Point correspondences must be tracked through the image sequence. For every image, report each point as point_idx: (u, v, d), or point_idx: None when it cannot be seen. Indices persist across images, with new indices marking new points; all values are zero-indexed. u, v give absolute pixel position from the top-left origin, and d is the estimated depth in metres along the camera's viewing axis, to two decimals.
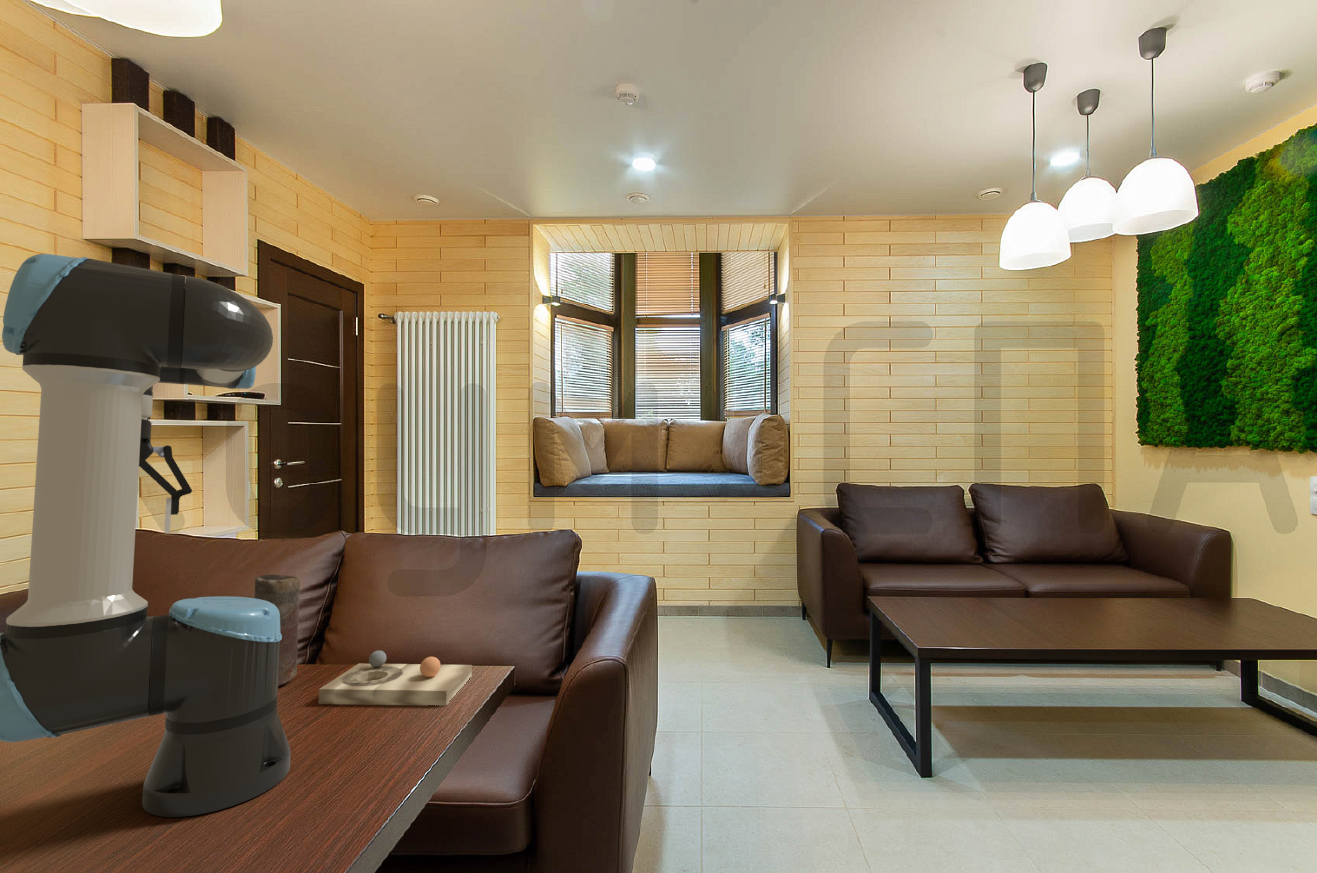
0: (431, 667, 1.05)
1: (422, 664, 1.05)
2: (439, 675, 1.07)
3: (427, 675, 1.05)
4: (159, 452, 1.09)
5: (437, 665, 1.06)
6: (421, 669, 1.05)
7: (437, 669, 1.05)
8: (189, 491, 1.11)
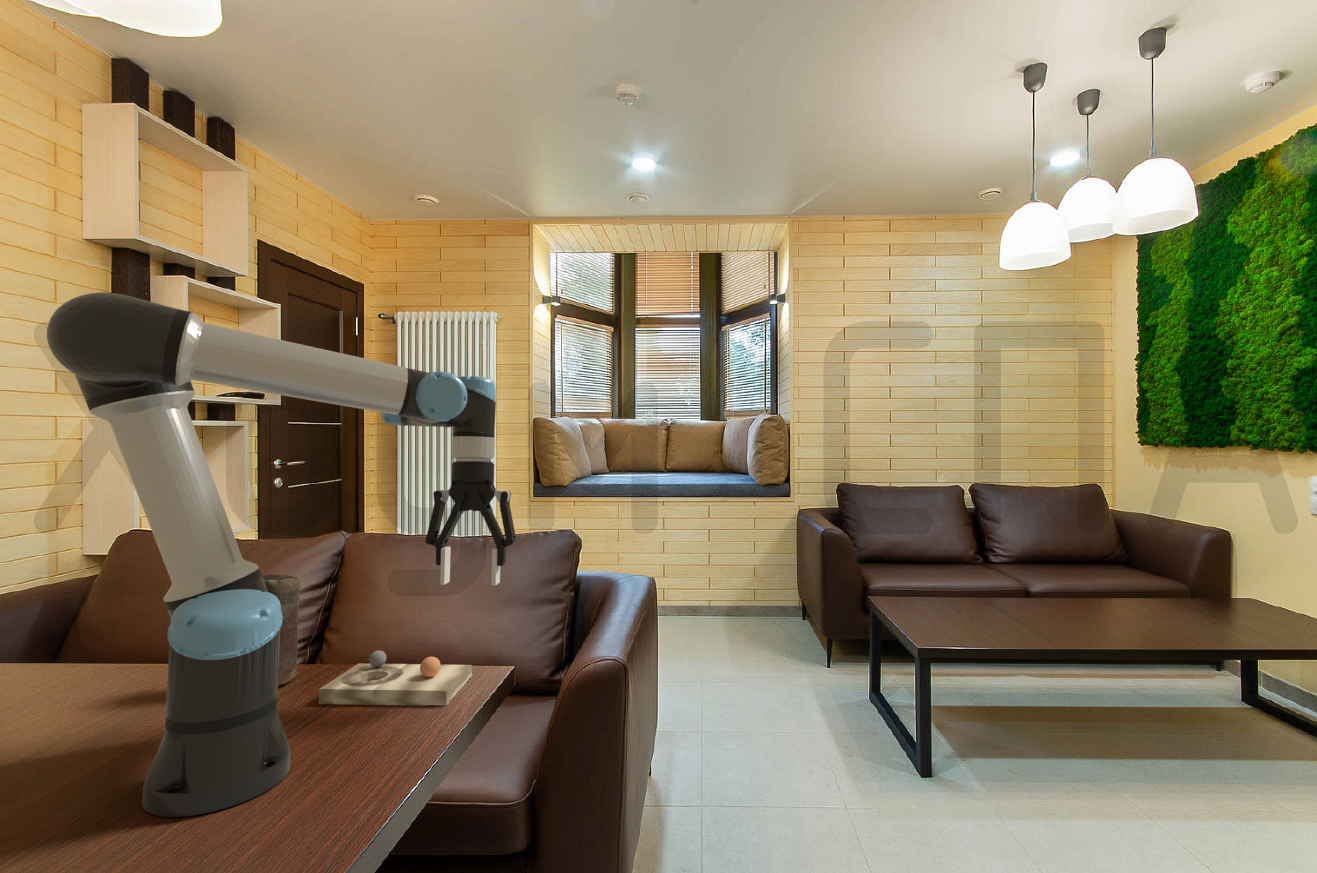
0: (431, 667, 1.05)
1: (422, 664, 1.05)
2: (439, 675, 1.07)
3: (427, 675, 1.05)
4: (498, 496, 1.07)
5: (437, 665, 1.06)
6: (421, 669, 1.05)
7: (437, 669, 1.05)
8: (510, 542, 1.06)
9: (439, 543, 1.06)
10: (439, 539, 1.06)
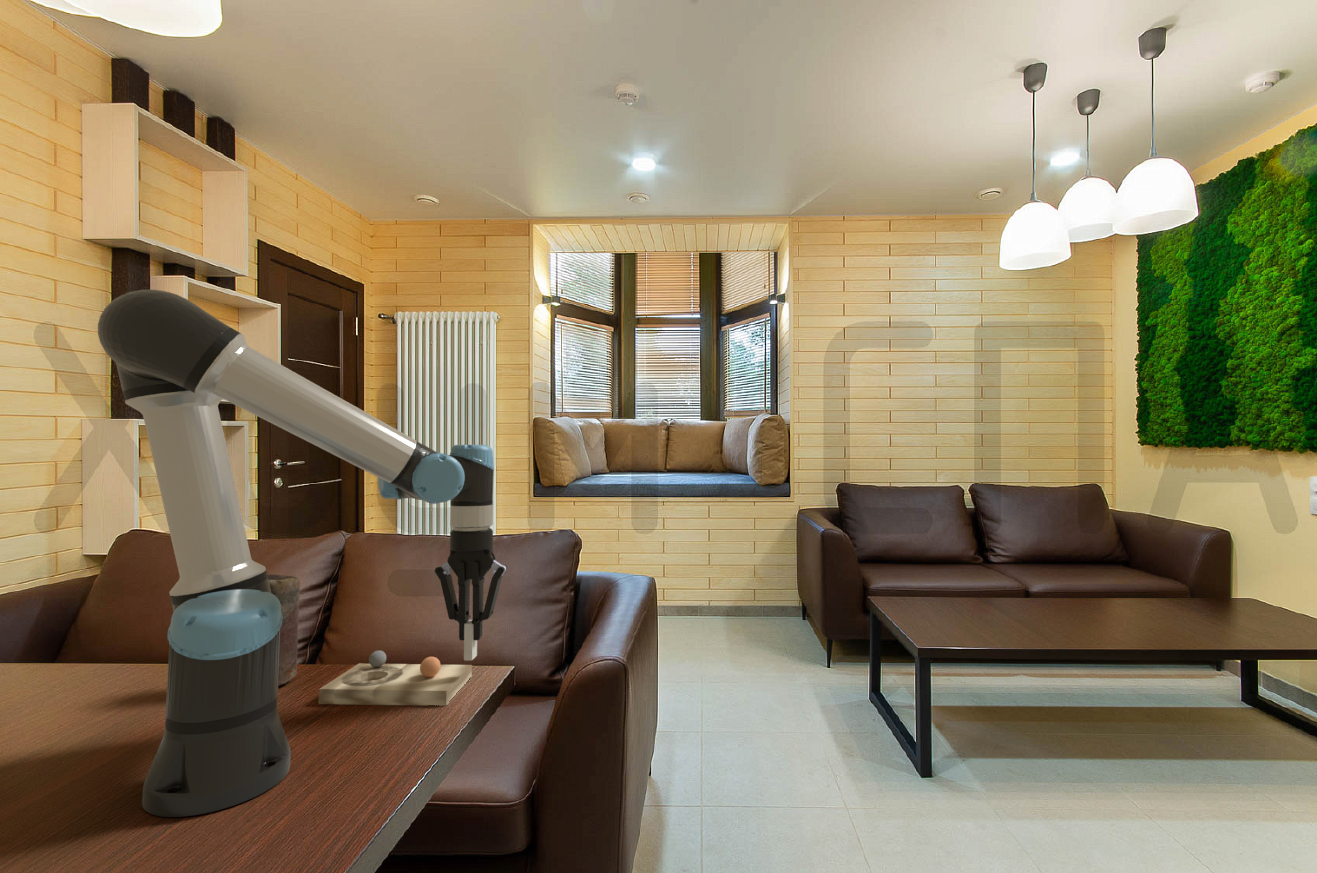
0: (431, 667, 1.05)
1: (422, 664, 1.05)
2: (439, 675, 1.07)
3: (427, 675, 1.05)
4: (494, 569, 1.07)
5: (437, 665, 1.06)
6: (421, 669, 1.05)
7: (437, 669, 1.05)
8: (486, 617, 1.05)
9: (461, 618, 1.05)
10: (460, 614, 1.05)
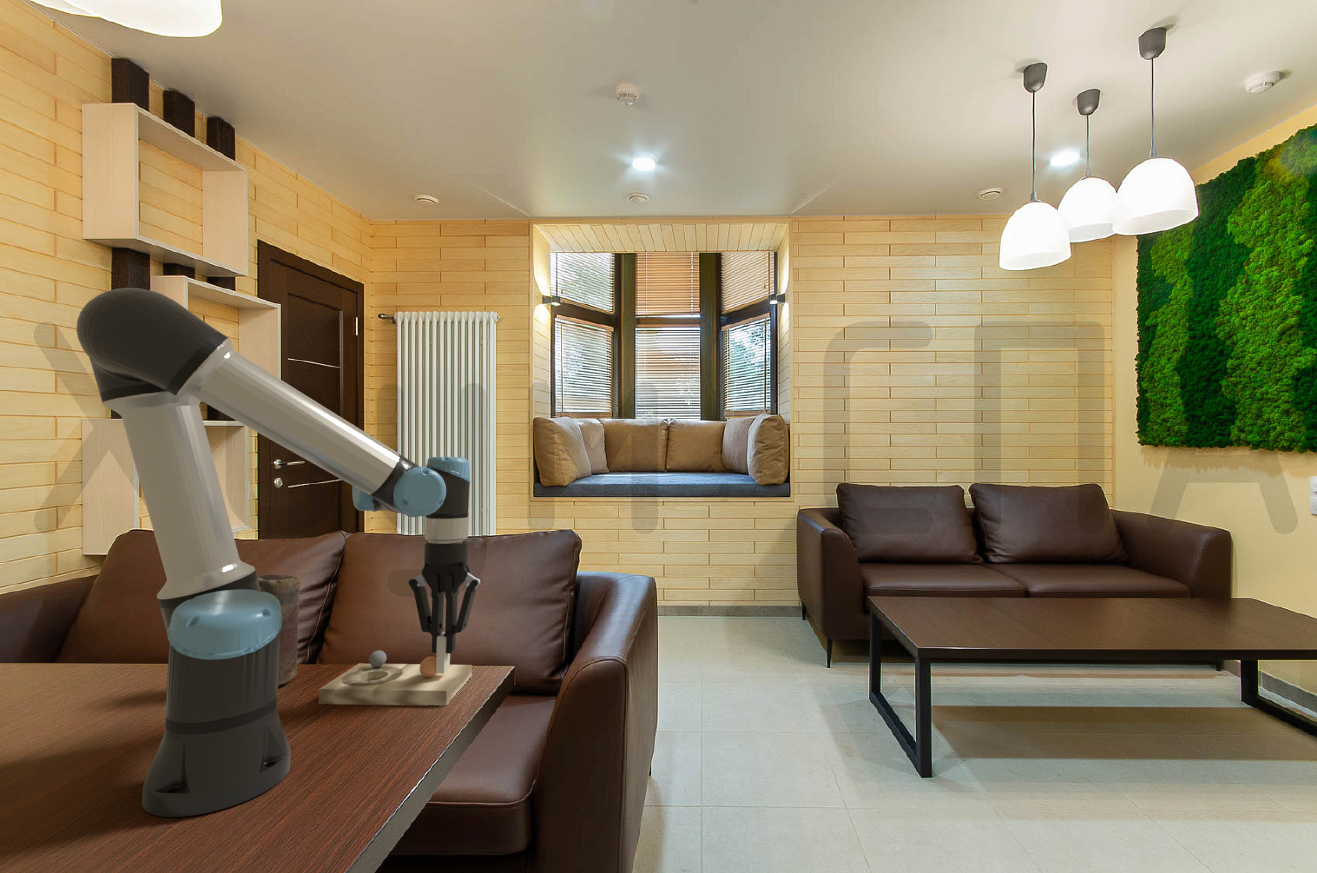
0: (430, 667, 1.05)
1: (421, 664, 1.05)
2: (439, 675, 1.07)
3: (427, 675, 1.05)
4: (468, 581, 1.06)
5: None
6: (421, 669, 1.05)
7: None
8: (458, 630, 1.05)
9: (434, 631, 1.05)
10: (433, 627, 1.05)
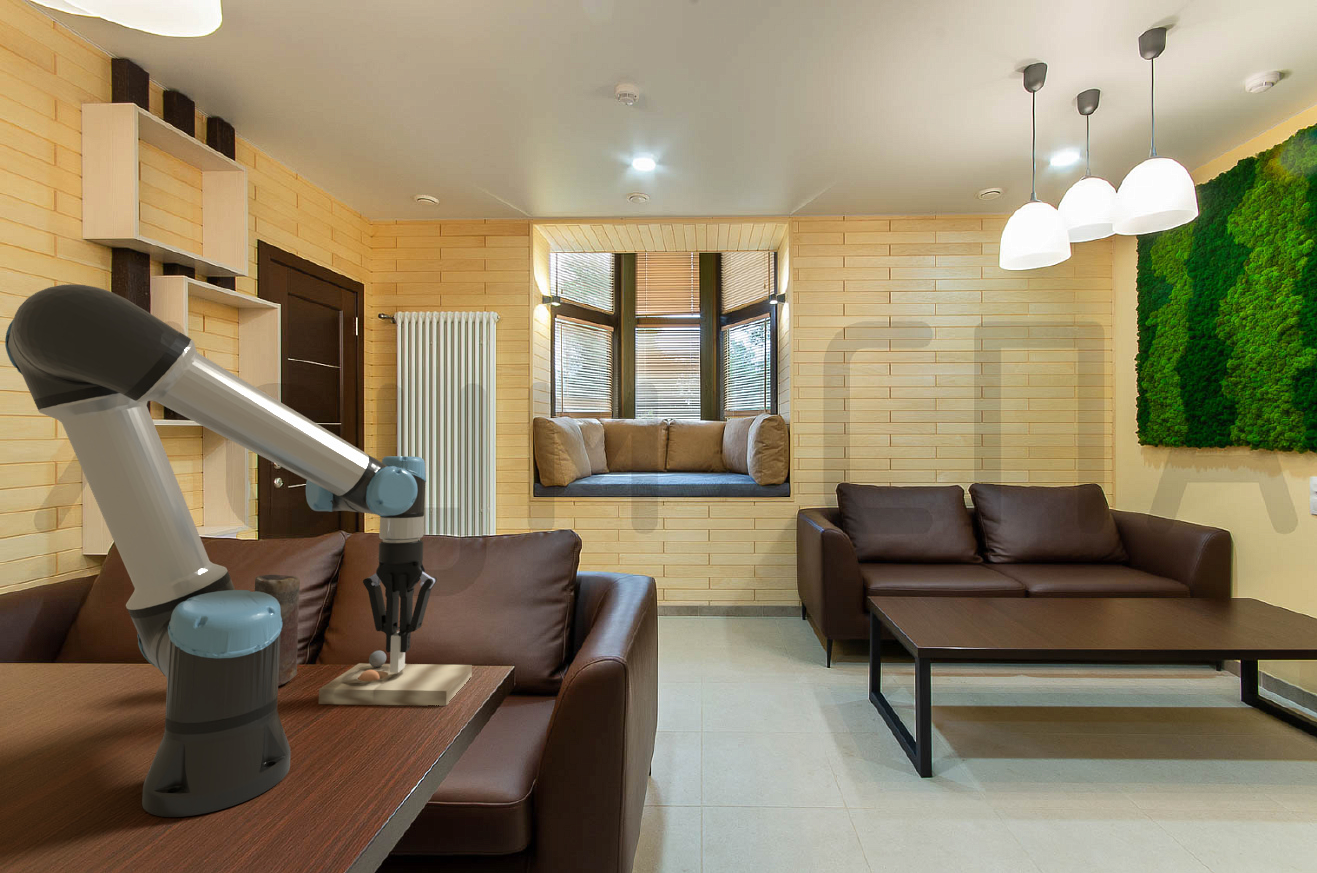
0: (369, 679, 1.05)
1: (360, 678, 1.05)
2: (439, 675, 1.07)
3: None
4: (422, 581, 1.07)
5: (375, 677, 1.06)
6: None
7: None
8: (413, 629, 1.05)
9: (388, 630, 1.05)
10: (387, 626, 1.05)
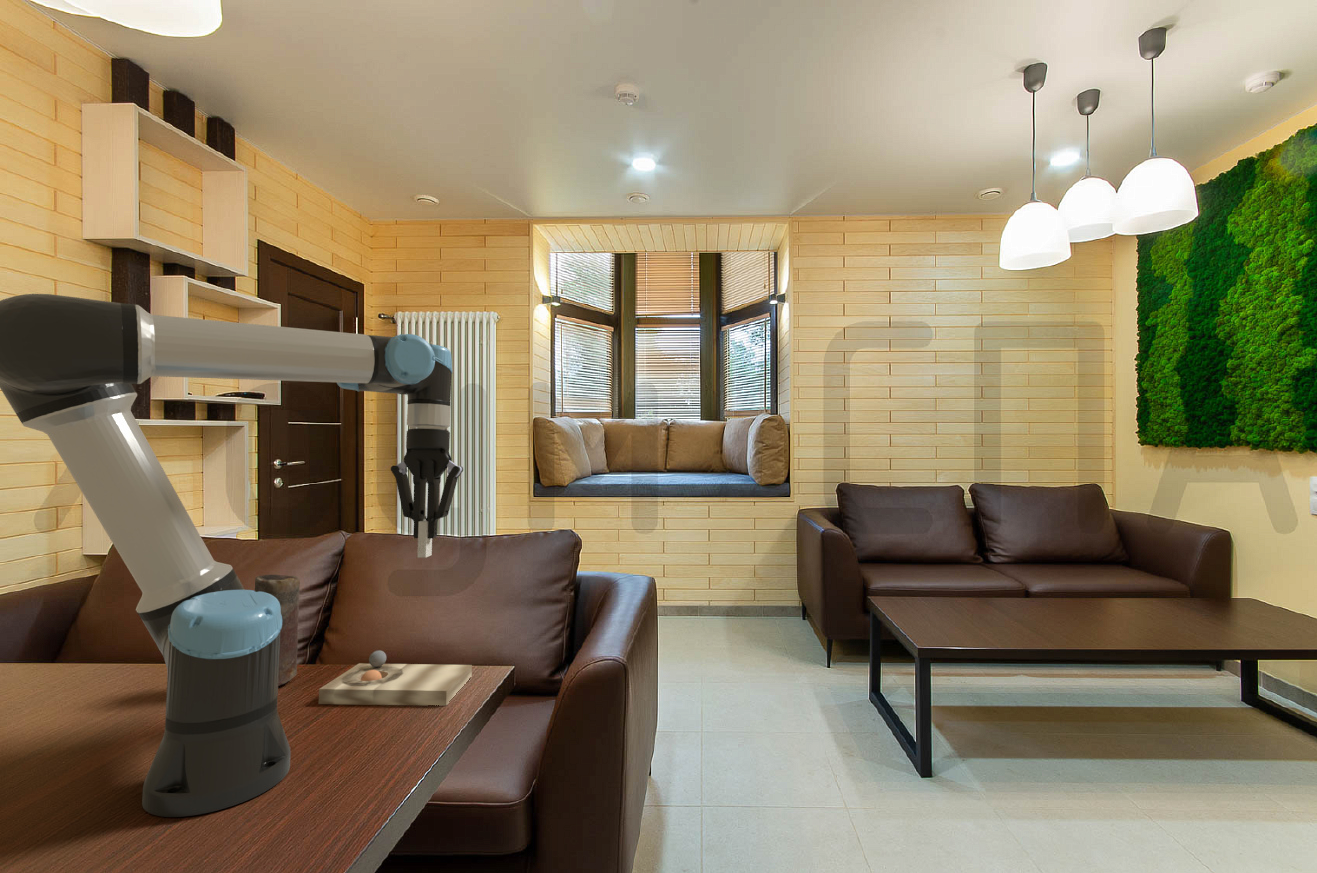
0: None
1: (363, 677, 1.05)
2: (439, 675, 1.07)
3: None
4: (449, 468, 1.07)
5: (378, 679, 1.06)
6: None
7: None
8: (440, 515, 1.06)
9: (416, 516, 1.06)
10: (414, 512, 1.06)
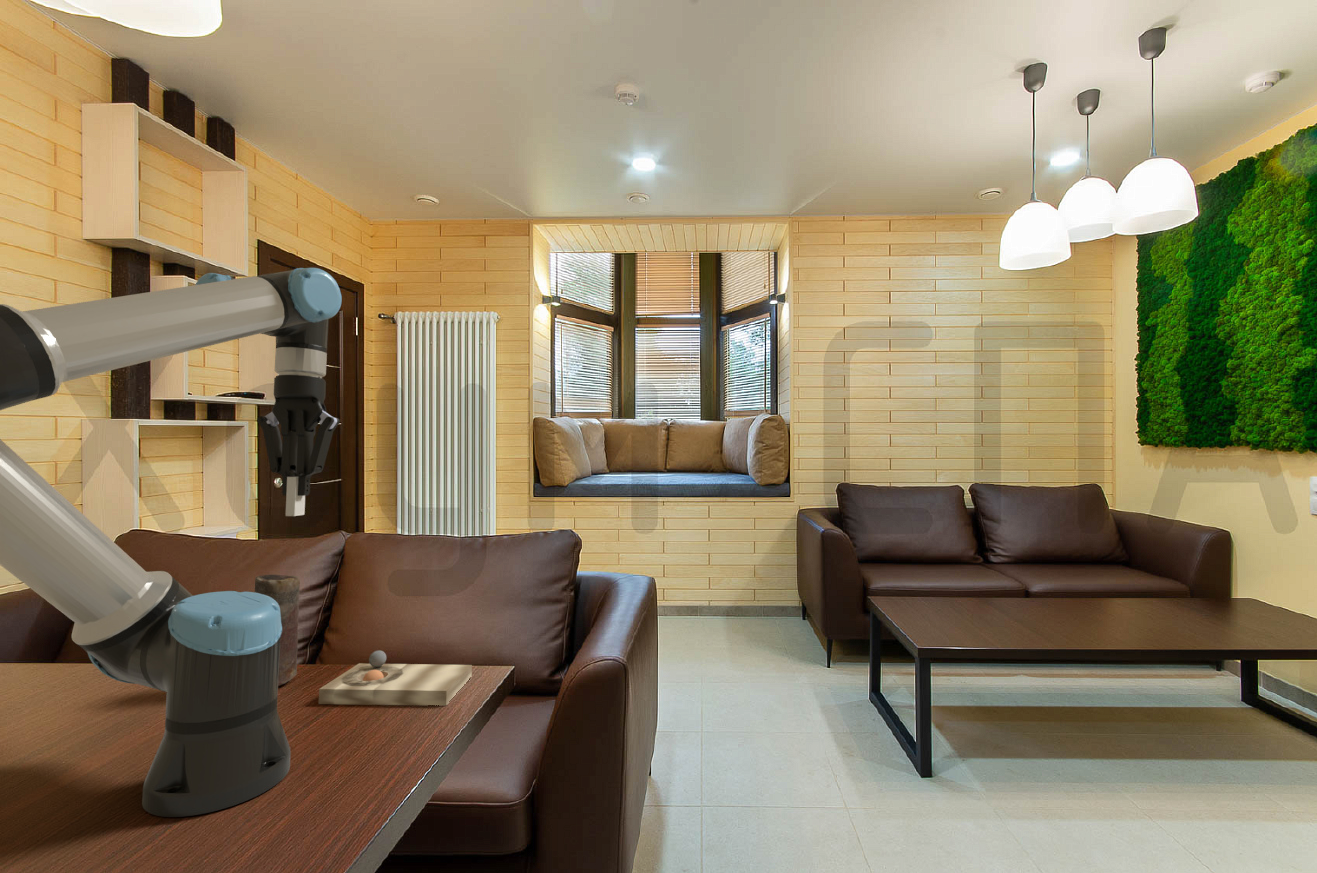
0: None
1: (367, 676, 1.05)
2: (439, 675, 1.07)
3: None
4: (322, 419, 0.98)
5: None
6: (364, 680, 1.05)
7: None
8: (311, 470, 0.97)
9: (284, 471, 0.97)
10: (283, 467, 0.97)
